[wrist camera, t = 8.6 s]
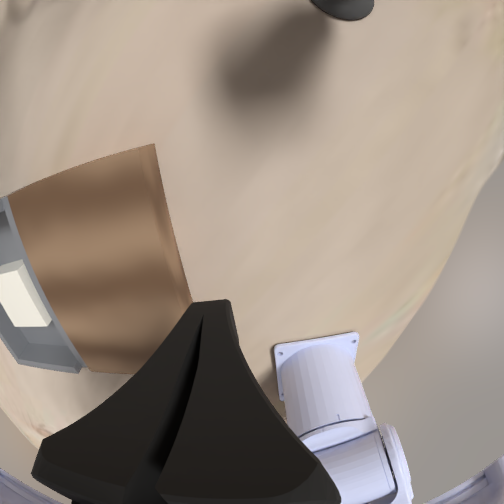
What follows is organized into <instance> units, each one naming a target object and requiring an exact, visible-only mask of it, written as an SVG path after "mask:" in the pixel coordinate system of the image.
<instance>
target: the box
mask: <svg viewBox="0 0 504 504" xmlns="http://www.w3.org/2000/svg"><path fill="white" fill-rule="evenodd" d="M23 188H24V187H23ZM21 189H22V188H21ZM19 190H20V189H19ZM17 191H18V190H17ZM15 192H16V191H15ZM13 193H14V192H13ZM10 194H12V193H10ZM10 194H8V195H10ZM8 195H6V196H4V197H2V198H0V266H1V265H4V264H7V263H11V262H14V261H18V260H21V259H22V260H23V262H24V265H25V267H26V269H27V271H28V274H29V276H30V278H31V280H32V282H33V284H34V287H35V289H36V291H37V293H38V295H39V297H40V299H41V301H42V303H43V304H44V306H45V308H46V310H47V312H48V314H49V316H50V317H51V319H52V321H51V322H50V324H49V325H48V326H43V327H15V326H14V324H13V323H12V321H11V320H10V318H9V316H8V315H7V313H6V311H5V309H4V308H3V306H2V304H1V302H0V338H1V340H2V341H3V343H4V344H5V346H6V347H7V349H8V350H9V351H10V353H11V354H12V356H13V357H14V358H15V360H16V361H17V363H18V364H21V365H26V366H31V367H37V368H42V369H48V370H54V371H61V372H68V373H76V374H79V372H80V370H81V368H82V367H88V366H87V365H86V364H85V362H84V361H83V359H82V358H81V356H80V355H79V353H78V352H77V350H76V349H75V347H74V345H73V344H72V342H71V341H70V339H69V337H68V336H67V334H66V332H65V331H64V329H63V327H62V326H61V324H60V322H59V320H58V319H57V317H56V315H55V313H54V311H53V310H52V308H51V306H50V304H49V302H48V300H47V298H46V296H45V294H44V292H43V290H42V288H41V286H40V284H39V282H38V279H37V277H36V275H35V273H34V270H33V268H32V266H31V264H30V261H29V259H28V256H27V254H26V251H25V249H24V246H23V243H22V241H21V238H20V235H19V232H18V230H17V227H16V224H15V221H14V218H13V214H12V211H11V208H10V204H9V201H8V197H7V196H8Z"/></svg>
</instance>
